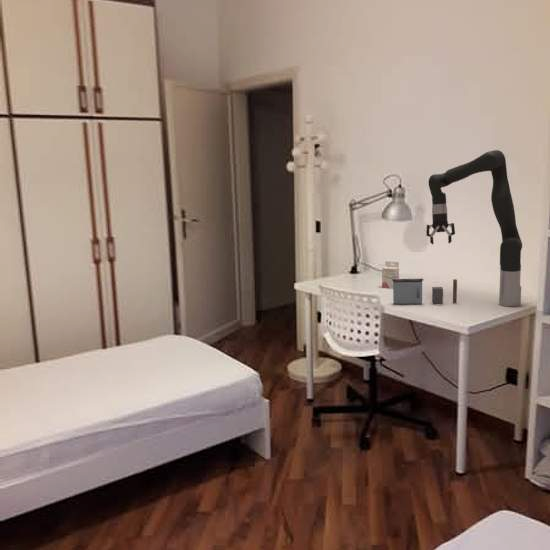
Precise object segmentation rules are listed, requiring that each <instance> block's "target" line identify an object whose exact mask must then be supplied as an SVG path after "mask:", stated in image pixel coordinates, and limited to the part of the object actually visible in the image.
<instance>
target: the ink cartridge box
mask: <svg viewBox="0 0 550 550" xmlns="http://www.w3.org/2000/svg"><path fill="white" fill-rule="evenodd" d="M399 265H400V264H399V262H398V261H385V266H383V267H381V276H382V277H381V288H383V289H384V288H385V289H391V288H393V281H392V279H400V267H399Z"/></svg>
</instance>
